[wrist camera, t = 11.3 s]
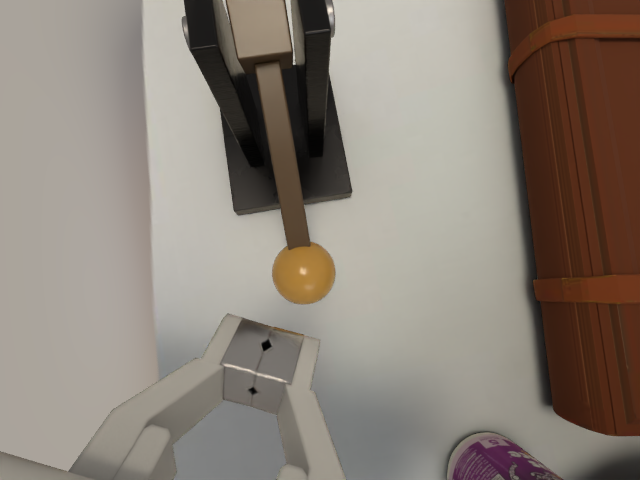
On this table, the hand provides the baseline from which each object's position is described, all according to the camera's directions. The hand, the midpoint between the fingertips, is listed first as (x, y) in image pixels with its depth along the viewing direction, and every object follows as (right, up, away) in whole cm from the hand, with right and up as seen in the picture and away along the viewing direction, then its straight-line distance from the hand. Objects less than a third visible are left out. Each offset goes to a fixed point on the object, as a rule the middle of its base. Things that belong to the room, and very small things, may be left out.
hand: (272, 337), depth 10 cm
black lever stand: (-1, +10, +13) cm, 17 cm away
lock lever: (0, +7, +6) cm, 9 cm away
